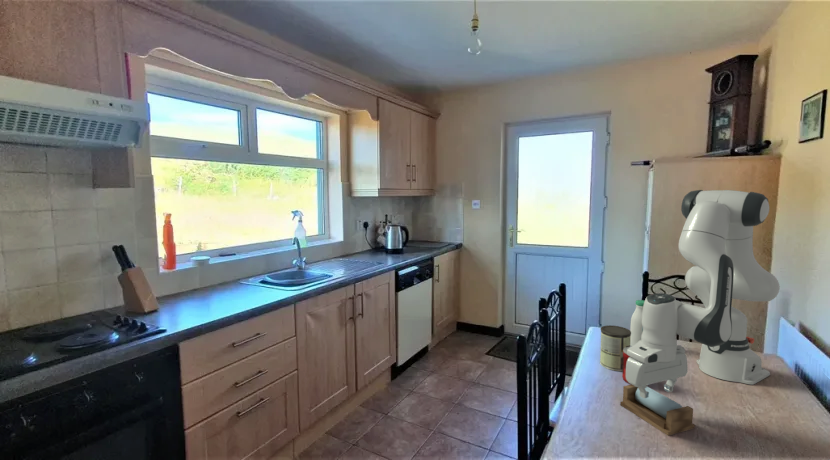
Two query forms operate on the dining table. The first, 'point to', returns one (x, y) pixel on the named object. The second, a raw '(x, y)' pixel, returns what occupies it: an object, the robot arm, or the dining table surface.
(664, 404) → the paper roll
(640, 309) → the milk bottle
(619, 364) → the coffee can
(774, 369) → the dining table surface
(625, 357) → the canned food
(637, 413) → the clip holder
